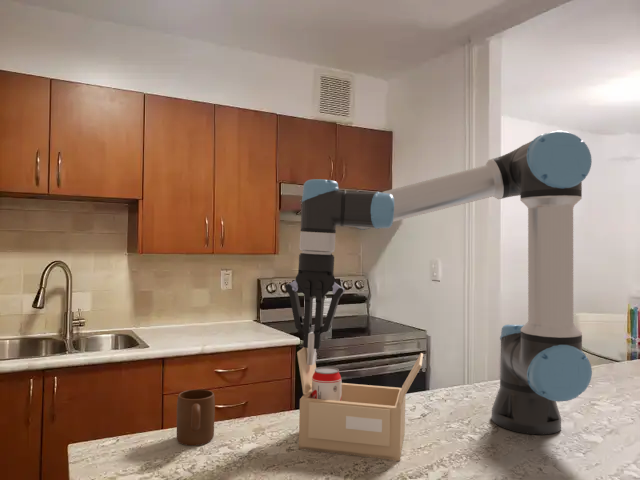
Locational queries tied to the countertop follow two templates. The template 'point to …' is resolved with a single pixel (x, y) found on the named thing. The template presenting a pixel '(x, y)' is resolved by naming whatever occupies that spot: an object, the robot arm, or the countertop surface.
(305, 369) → the flap far
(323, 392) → the beer can
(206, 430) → the mug
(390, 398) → the carton
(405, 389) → the flap near
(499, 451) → the countertop surface
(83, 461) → the countertop surface
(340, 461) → the countertop surface
